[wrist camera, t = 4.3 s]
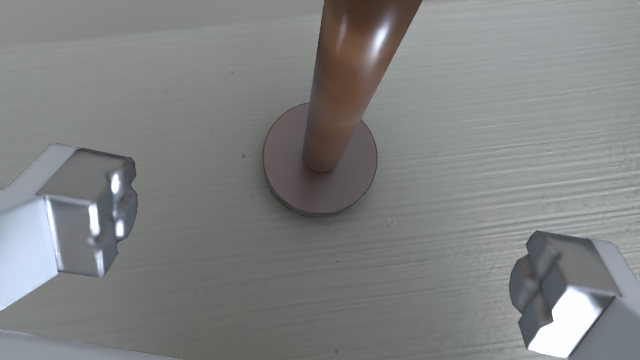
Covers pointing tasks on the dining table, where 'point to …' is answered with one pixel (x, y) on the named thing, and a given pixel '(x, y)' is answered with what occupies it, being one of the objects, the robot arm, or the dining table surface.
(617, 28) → the dining table surface
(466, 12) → the dining table surface
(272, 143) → the wooden plunger
